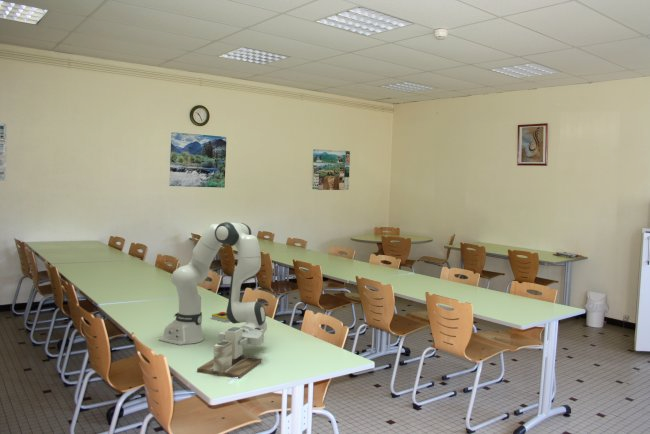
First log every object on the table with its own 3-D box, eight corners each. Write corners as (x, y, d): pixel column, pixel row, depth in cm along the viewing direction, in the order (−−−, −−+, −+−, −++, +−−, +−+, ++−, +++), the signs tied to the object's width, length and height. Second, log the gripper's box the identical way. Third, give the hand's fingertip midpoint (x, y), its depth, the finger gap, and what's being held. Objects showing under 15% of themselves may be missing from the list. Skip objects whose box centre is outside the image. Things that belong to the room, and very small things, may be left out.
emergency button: (221, 309, 327) (238, 313, 318) (221, 316, 327) (238, 321, 318) (209, 312, 319) (226, 316, 310) (209, 319, 319) (226, 324, 310)
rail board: (197, 371, 230) (197, 342, 229) (222, 356, 251) (222, 329, 250) (239, 378, 224) (240, 348, 223) (261, 362, 244) (262, 334, 244)
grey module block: (224, 357, 237) (225, 330, 236) (232, 353, 243) (232, 326, 242) (235, 359, 235) (235, 331, 234) (242, 354, 242) (242, 327, 241)
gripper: (226, 325, 254) (212, 332, 241) (266, 329, 248) (253, 337, 235) (226, 338, 254) (211, 346, 241) (266, 343, 248) (253, 351, 235)
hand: (232, 342), depth 238 cm, fingers closed on grey module block, 5 cm apart
